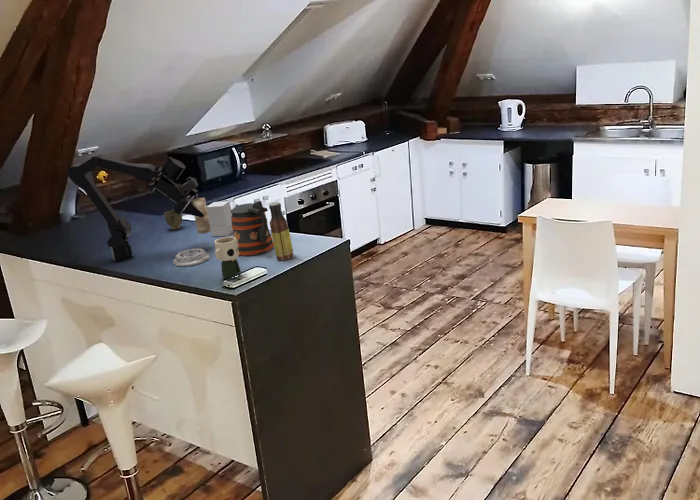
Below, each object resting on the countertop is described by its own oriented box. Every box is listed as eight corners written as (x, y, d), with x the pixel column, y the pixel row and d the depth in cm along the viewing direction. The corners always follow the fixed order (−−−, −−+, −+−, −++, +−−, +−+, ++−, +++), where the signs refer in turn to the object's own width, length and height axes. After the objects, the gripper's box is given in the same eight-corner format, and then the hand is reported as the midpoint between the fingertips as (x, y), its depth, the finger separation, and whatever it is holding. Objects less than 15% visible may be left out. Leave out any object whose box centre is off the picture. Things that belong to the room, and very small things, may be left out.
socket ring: (182, 269, 241) (180, 262, 241) (168, 261, 252) (166, 254, 251) (215, 258, 248) (214, 251, 247) (200, 251, 259) (199, 244, 258)
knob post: (201, 234, 256) (194, 202, 252) (195, 232, 260) (189, 200, 256) (213, 231, 259) (207, 199, 255) (207, 228, 263) (201, 197, 259)
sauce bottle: (294, 254, 243) (286, 199, 237) (293, 259, 237) (285, 204, 231) (275, 256, 243) (267, 202, 237) (274, 262, 237) (265, 206, 231)
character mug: (230, 283, 222) (222, 245, 218) (213, 281, 226) (205, 244, 221) (250, 271, 231) (244, 234, 227) (234, 270, 234) (227, 233, 230)
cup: (163, 231, 293) (159, 213, 290) (175, 226, 299) (171, 208, 296) (177, 232, 289) (173, 213, 287) (188, 226, 295) (185, 208, 293)
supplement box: (235, 230, 281) (230, 200, 277) (228, 236, 274) (222, 205, 270) (219, 231, 283) (213, 201, 279) (211, 236, 276) (205, 206, 272)
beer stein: (289, 248, 249) (281, 195, 243) (257, 261, 240) (247, 206, 234) (258, 241, 263) (250, 190, 256) (226, 253, 254) (217, 200, 247)
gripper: (176, 178, 243) (212, 204, 246) (187, 167, 261) (221, 192, 264) (158, 201, 246) (195, 227, 249) (171, 189, 264) (204, 214, 267)
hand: (204, 214), depth 257 cm, fingers closed on knob post, 5 cm apart
